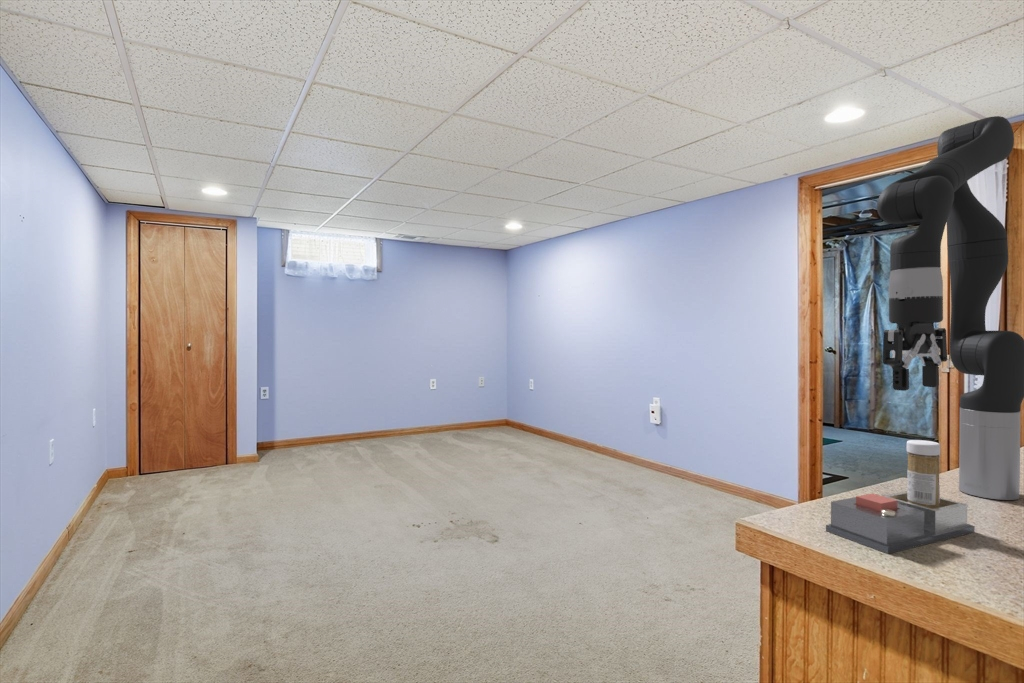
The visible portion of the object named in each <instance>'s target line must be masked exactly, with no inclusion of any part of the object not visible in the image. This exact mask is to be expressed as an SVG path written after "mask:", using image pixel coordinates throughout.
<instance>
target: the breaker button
mask: <svg viewBox="0 0 1024 683" xmlns="http://www.w3.org/2000/svg"><path fill="white" fill-rule="evenodd" d="M855 497H856V505H858V506H862V507H865V508H868V509H871V510H875V511H878V512H881V510H882V509H888V510H897V500H894V499H890V498H887V497H883V495H878V494H875V493H867V494H862V495H856V496H855Z"/></svg>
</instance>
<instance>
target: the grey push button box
mask: <svg viewBox="0 0 1024 683" xmlns="http://www.w3.org/2000/svg"><path fill="white" fill-rule="evenodd" d="M882 496H883V497H887V498H890V499H894V500H897V510H888V509H882V510H881V512H878V511H875V510H871V509H868V508H865V507H862V506H858V505H856V496H855V497H850V498H844V499H839V500H833V501H831V502H830V524H825V532H828V533H830V534H833V535H836V536H838V537H842V538H844V539H847V540H850V541H852V542H855V543H856V544H860V545H863V546H865V547H868V548H871V549H874V550H876V551H880V552H882V553H883V554H884V553H885V554H893V553H896V552H901V551H905V550H909V549H912V548H917V547H921V546H925V545H928V544H934V543H937V542H941V541H944V540H945V541H946V540H948V539H953V538H956V537H960V536H965V535H968V534H973V533H975V530H976V529H975V525H972V524H968V504H967V503H963V502H959V501H956V500H951V499H948V498H944V497H940V503H939V508H935V509H931V508H927V507H924V506H920V505H916V504H913V503H909V502H908V499H907V490H906V491H900V492H895V493H891V494H889V493H888V494H884V495H882Z"/></svg>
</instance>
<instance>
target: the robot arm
mask: <svg viewBox="0 0 1024 683" xmlns="http://www.w3.org/2000/svg"><path fill="white" fill-rule="evenodd" d="M1014 137H1015V134H1014V129H1013V126H1012V124H1011V122H1010V121H1009V120H1008V119H1007V118H1006V117H1003V116H1001V115H1000V116H999V115H996V116H989V117H985V118H982V119H976V120H975V121H971V122H967V123H965V124H962V125H958V126H955V127H951V128H948V129H946V130H944V131H942V133H941V134H940V135H939V137H938V141H937V156H936V157H935V158H933V159H930V161H928V162H927V163H925V164H924V165H923V166H922V167H921V168H919V169H918V170H917V171H916V172H914V173H912V174H908V175H906V176H905V177H904V176H903V178H900V179H898V180H896V181H893V182H892V183H890V184H888V185H887V186H886V187H885V188H884V189H883V190H881V193H880V195H879V197H878V199H877V201H876V210H877V214H878V215H879V217H880V219H882V220H883V221H884V222H886V223H887V224H888V223H889V224H891V225H899V224H901V225H902V224H906V223H912V222H918V221H921V222H920V223H919V225H918V227H917V228H916V229H915V230H914V231H912V232H910V233H907V234H905V235H902V236H900V237H899V236H898V237H897V238H895V239H894V240H892V241H891V243H890V250H889V254H890V255H889V256H890V258H889V262H890V265H889V266H890V272H889V273H890V274H889V280H888V281H889V282H888V320H889V323H891V324H896V329H884V330H883V337H882V338H883V339H882V340H883V342H882V343H883V344H882V347H883V348H882V363H883V365H885V366H886V365H888V366H889V367H890V368H891V369H892V388H893V390H895V391H903V392H905V391H908V390H910V369H909V366H910V364H911V361H912V360H913V359H915V358H917V357H918V358H919V360H920V362H921V363H922V386H923V387H924V388H925V387H927V388H937V387H939V385H940V384H939V382H940V381H939V375H940V374H939V372H940V370H939V366H941V365H942V363H943V362H947V361H948V346H947V344H948V343H947V340H948V339H947V329H946V328H944V327H937V328H935V324H934V323H941V322H943V320H944V292H943V291H944V287H943V286H944V284H943V275H942V268H941V266H942V265H941V264H942V263H941V262H942V261H941V260H942V259H941V258H942V255H941V251H942V250H941V248H942V247H941V246H942V241H943V236H944V232H945V230H946V239H947V240H946V244H947V245H946V248H947V259H948V269H949V270H948V271H949V279H950V280H949V282H950V301H951V303H950V324H949V325H950V329H949V356H950V361H951V363H952V364H953V367H954V368H955V369H956V370H957V371H958V372H959V373H961V374H965V375H973V376H983V379H982V380H983V381H982V384H981V386H979V387H978V388H977V389H975V390H972V391H971V390H970V391H968V392H964V393H962V394H961V395H960V397H959V451H958V452H959V453H958V454H959V457H958V458H959V460H958V463H959V464H958V467H959V469H958V490H959V491H960V492H963V493H965V494H967V495H971V496H974V497H980V498H984V499H992V500H1001V501H1015V500H1020V480H1021V475H1020V474H1021V412H1022V411H1021V410H1022V409H1021V408H1022V403H1023V401H1024V338H1023V336H1021V335H1020V334H1019V333H1017V332H1015V331H1011V330H987V329H986V327H987V326H986V311H987V305H988V303H989V299H990V298H991V296H992V295H993V293H994V291H995V290H996V288H997V286H998V285H999V284H1000V281H1001V280H1002V278H1003V277H1004V275H1005V272H1006V271H1007V268H1008V264H1009V250H1008V249H1009V245H1008V233H1007V230H1006V228H1005V226H1004V225H1003V224H1002V222H1001V221H1000V220H999V219H998V218H997V217H996V216H995V215H994V214H993V213H992V211H990V210H988V208H986V206H984V205H983V204H982V203H981V202H980V201H979V200H978V199H977V197H976V196H975V195H974V194H973V192H972V190H971V188H970V185H969V183H968V181H969V180H971V179H972V178H973V177H975V176H977V175H978V174H980V173H982V172H983V171H985V170H987V169H988V168H990V167H992V166H993V165H996V164H999V163H1001V162H1003V161H1005V160H1006V159H1008V157H1009V156H1010V155H1011V153H1012V151H1013V148H1014V144H1015V138H1014ZM945 228H946V229H945ZM891 355H892V357H891Z"/></svg>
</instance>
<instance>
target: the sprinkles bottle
mask: <svg viewBox="0 0 1024 683" xmlns="http://www.w3.org/2000/svg"><path fill="white" fill-rule="evenodd" d="M906 454H907V470H906V471H907V474H906V475H907V476H906V477H907V480H906V481H907V486H906V487H907V490H906V491H907V499H908V502H909V503H913V504H916V505H920V506H924V507H927V508H931V509H935V508H939V503H940V498H941V496H940V495H941V494H940V491H941V486H940V455H941V444H940V443H939V442H936V441H932V440H924V439H923V440H922V439H909V440H907V441H906Z"/></svg>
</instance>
